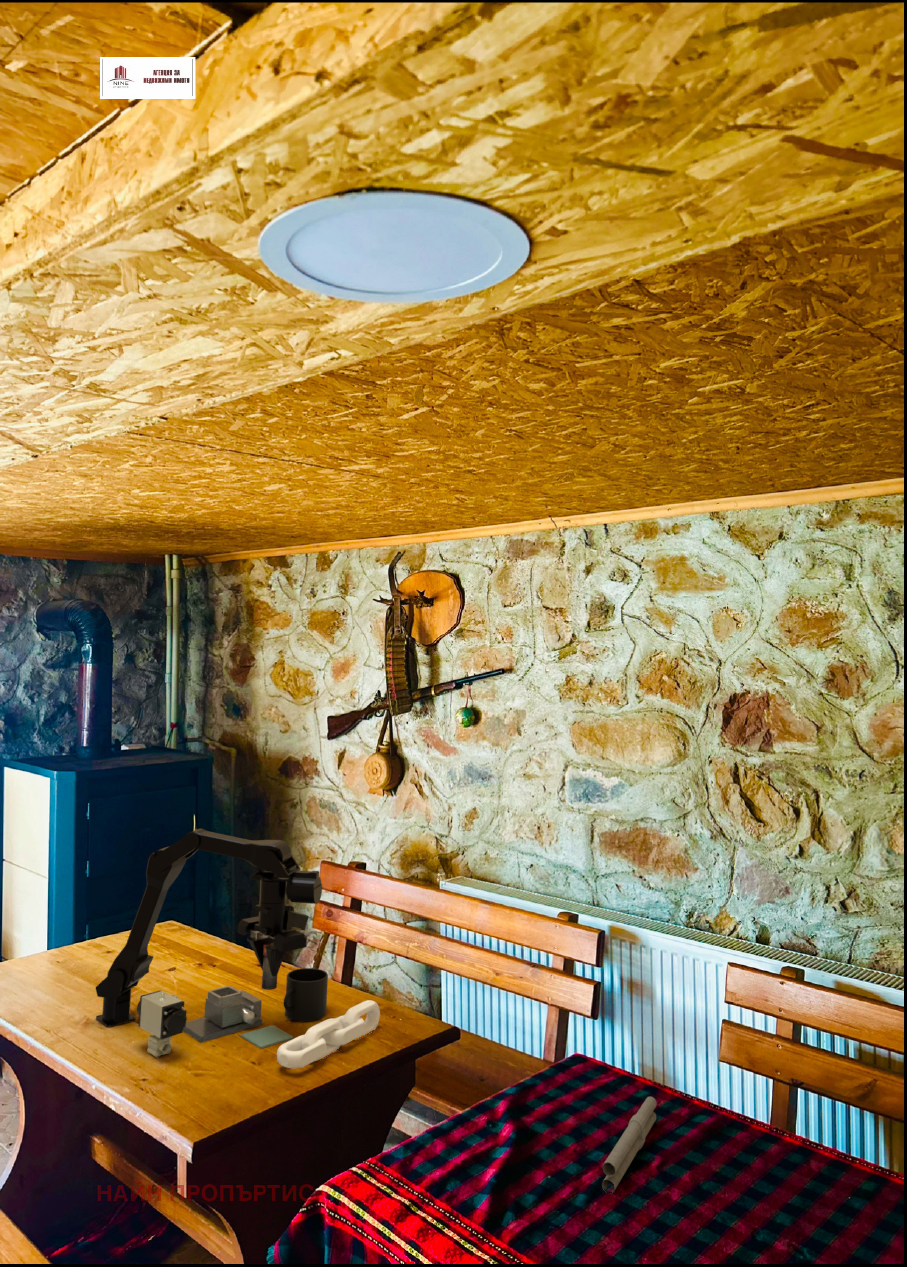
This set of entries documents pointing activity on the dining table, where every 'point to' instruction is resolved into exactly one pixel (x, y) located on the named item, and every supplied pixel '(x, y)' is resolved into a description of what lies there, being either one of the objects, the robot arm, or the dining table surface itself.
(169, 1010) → the pneumatic valve
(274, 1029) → the mat
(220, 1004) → the bracket
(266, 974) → the round metal peg
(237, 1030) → the clamp base
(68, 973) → the dining table surface
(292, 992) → the mug
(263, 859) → the robot arm
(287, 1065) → the chain
